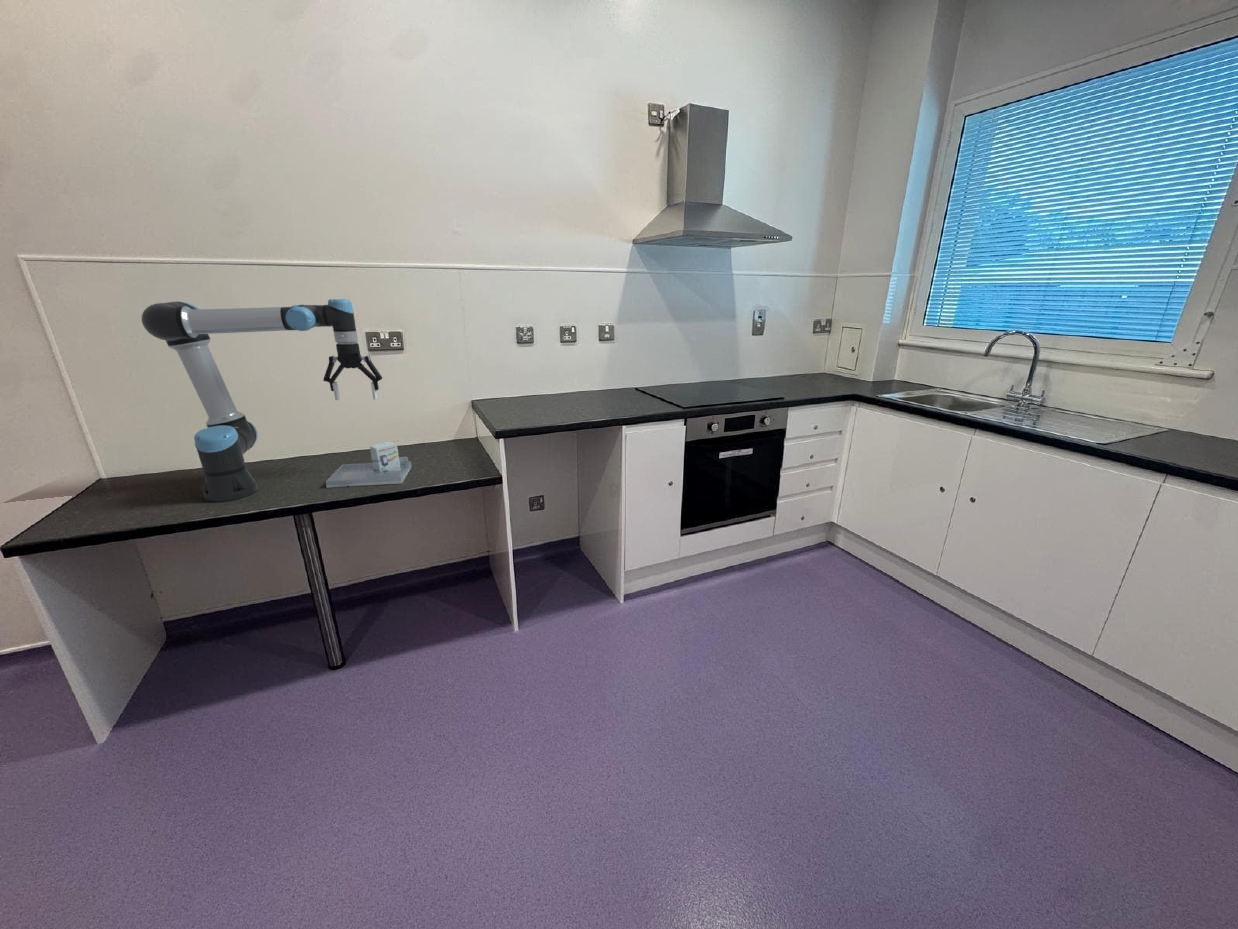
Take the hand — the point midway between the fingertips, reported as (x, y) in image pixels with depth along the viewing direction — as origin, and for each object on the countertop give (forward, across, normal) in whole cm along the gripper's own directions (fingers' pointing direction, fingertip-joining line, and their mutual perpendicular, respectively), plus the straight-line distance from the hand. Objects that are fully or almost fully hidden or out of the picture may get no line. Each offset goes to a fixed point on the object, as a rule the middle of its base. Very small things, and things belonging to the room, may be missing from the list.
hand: (356, 399), depth 190 cm
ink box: (+28, +10, -10) cm, 31 cm away
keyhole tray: (+28, +4, -10) cm, 31 cm away
